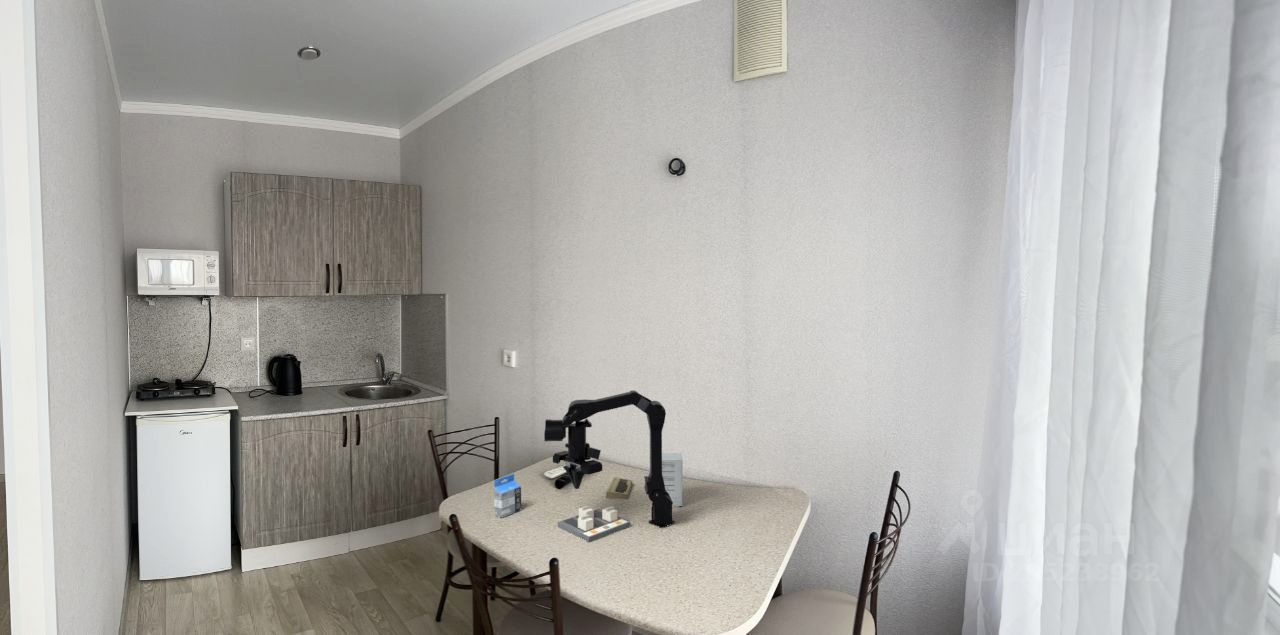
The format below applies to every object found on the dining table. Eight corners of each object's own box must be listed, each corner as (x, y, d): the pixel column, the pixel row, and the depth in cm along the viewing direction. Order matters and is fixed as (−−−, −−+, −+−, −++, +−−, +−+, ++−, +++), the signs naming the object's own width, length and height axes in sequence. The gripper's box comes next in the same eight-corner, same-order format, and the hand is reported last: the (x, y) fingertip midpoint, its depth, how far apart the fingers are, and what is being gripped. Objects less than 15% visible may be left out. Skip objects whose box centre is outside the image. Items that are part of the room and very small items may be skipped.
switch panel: (630, 526, 189) (630, 521, 189) (588, 542, 177) (588, 536, 177) (598, 512, 201) (598, 507, 201) (557, 526, 189) (557, 521, 189)
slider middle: (593, 518, 192) (593, 507, 191) (586, 521, 189) (586, 509, 189) (586, 515, 194) (585, 503, 194) (578, 517, 192) (578, 506, 192)
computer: (627, 500, 214) (627, 491, 214) (605, 499, 215) (605, 490, 214) (632, 485, 229) (632, 477, 229) (612, 485, 230) (612, 476, 230)
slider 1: (593, 528, 184) (593, 516, 184) (585, 531, 182) (585, 519, 181) (585, 524, 187) (585, 512, 186) (577, 527, 185) (577, 515, 184)
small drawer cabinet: (682, 507, 206) (683, 460, 205) (656, 507, 206) (656, 460, 205) (681, 497, 215) (681, 452, 214) (656, 497, 215) (656, 452, 214)
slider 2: (617, 519, 191) (617, 508, 190) (610, 522, 189) (610, 510, 188) (609, 516, 194) (609, 504, 193) (602, 518, 191) (602, 507, 191)
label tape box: (501, 518, 196) (501, 482, 195) (493, 515, 198) (493, 479, 197) (522, 510, 203) (521, 475, 202) (514, 508, 205) (513, 473, 204)
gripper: (615, 441, 187) (615, 489, 188) (578, 431, 200) (578, 476, 201) (588, 448, 179) (588, 498, 180) (551, 436, 192) (551, 483, 193)
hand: (576, 488), depth 189 cm, fingers closed
